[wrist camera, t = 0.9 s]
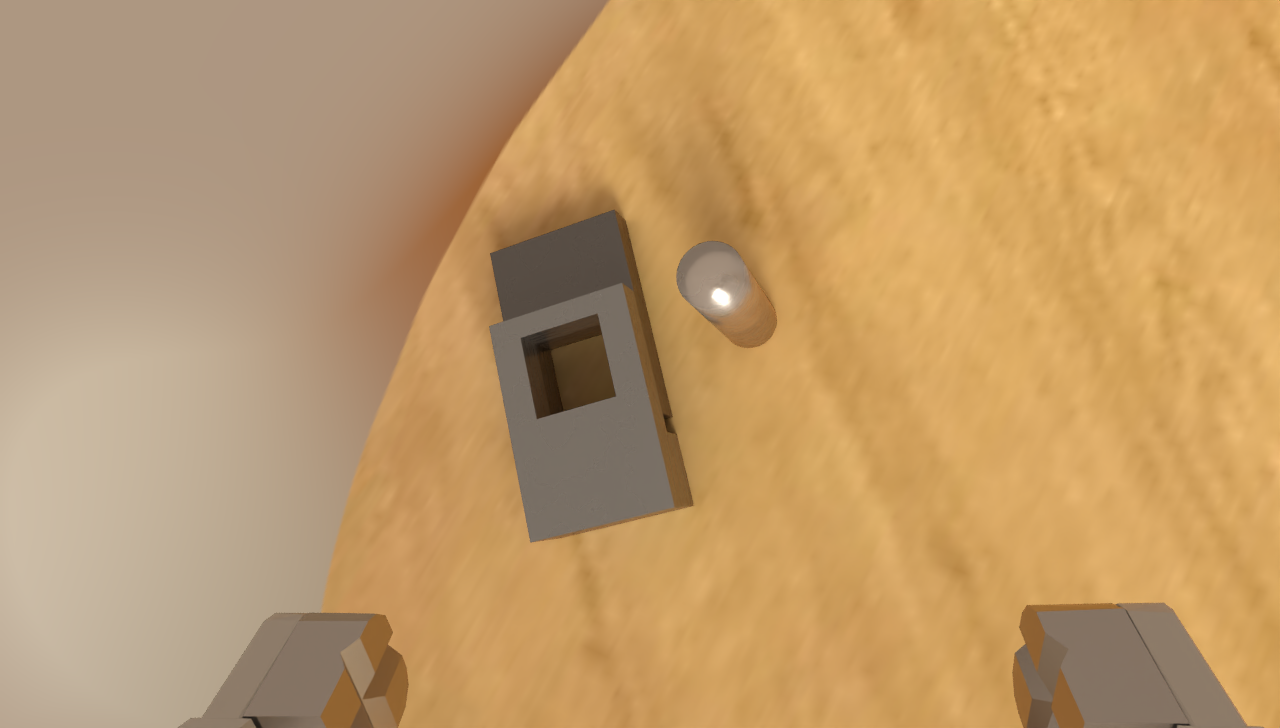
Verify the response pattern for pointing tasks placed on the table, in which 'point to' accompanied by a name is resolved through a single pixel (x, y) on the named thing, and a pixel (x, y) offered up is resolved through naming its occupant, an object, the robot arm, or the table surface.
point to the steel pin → (726, 293)
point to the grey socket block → (598, 432)
